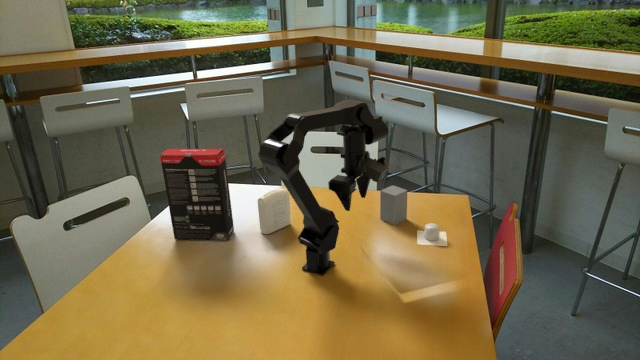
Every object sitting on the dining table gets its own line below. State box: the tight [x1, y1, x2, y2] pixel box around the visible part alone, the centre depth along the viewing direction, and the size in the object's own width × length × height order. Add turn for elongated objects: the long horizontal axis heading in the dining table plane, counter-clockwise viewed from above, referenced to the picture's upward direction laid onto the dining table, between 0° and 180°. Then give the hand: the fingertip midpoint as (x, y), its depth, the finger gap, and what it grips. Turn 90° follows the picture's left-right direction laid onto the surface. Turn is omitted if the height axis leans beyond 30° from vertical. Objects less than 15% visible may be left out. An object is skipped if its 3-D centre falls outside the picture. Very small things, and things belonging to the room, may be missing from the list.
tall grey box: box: [379, 185, 408, 226], centre depth 143 cm, size 6×6×11 cm
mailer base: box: [416, 222, 448, 247], centre depth 133 cm, size 8×8×5 cm
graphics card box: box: [159, 148, 235, 242], centre depth 138 cm, size 17×7×27 cm, turn 84°
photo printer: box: [257, 188, 292, 235], centre depth 144 cm, size 10×4×12 cm, turn 134°
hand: (355, 203), depth 129 cm, fingers open, 9 cm apart
